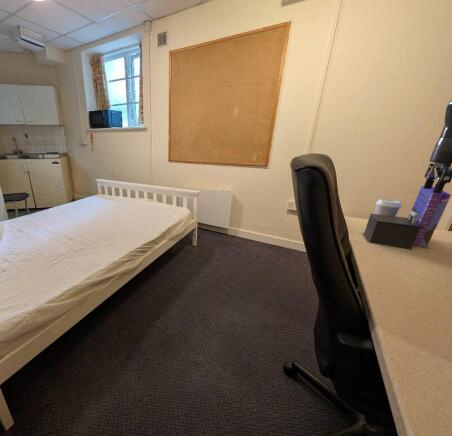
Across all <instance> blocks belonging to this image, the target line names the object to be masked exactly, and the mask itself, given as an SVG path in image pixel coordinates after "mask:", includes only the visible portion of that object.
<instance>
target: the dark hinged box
mask: <svg viewBox="0 0 452 436" xmlns="http://www.w3.org/2000/svg"><path fill="white" fill-rule="evenodd" d="M419 230H420V228H415V227H407V226H400V225H392V224H384V223H377V222H376V221H375V220H374V219H373V217H372V216H371V214H370V215H369V218H368V221H367V223H366V226H365V228H364V231H363V234H364V236H365V238H366V240H367V241H368V242H369V243H372V244H376V245H377V244H378V245H382V246H389V247H394V248H399V249H405V250H412V248H413V246H414V245H413V244H414V241H415V239H416V237H417V235H418V232H419Z"/></svg>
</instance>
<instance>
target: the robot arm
mask: <svg viewBox="0 0 452 436" xmlns="http://www.w3.org/2000/svg"><path fill="white" fill-rule="evenodd" d="M443 123H444V125H443V128H442V129H441V132H440V134H439V137H438V139H437V141H436V143H435V145H434V147H433V150H432V153H431V154H430V157H429V160H428V161H429V164H428V166H427V169H426V171H425V174H424V177H423V178H425V182H424V185H423V186H424V187H423V188H424V189H431V188H432V187H434V189H433V192H434V193H441V192H442V190H443V191H444V188H445V186H446V185H447V184H450V183H451V181H452V98H451V99H450V100H449V102H448V103H447V105H446V108H445V113H444V122H443ZM430 162H431V163H430ZM435 180H436V181H435ZM434 183H435V185H434ZM433 185H434V186H433Z"/></svg>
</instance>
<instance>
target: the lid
mask: <svg viewBox="0 0 452 436" xmlns="http://www.w3.org/2000/svg"><path fill="white" fill-rule="evenodd" d="M408 214H409V215H410V217H409V216H408V217H403V216H397V215H396V216H387V215H378V214H375V213H370V215H371V216H372V217H373V219H374V220H375V221H376V222H377V223H384V224H392V225H400V226H407V227H415V228H424V227H423V226H422V225H421V224H419V223H418V222H417V221H416V219H417V218H419V217H420V215H419V214H417V213H416V212H414V211H411V210H410V211H409V212H408ZM412 217H414V219H412Z"/></svg>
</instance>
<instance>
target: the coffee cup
mask: <svg viewBox="0 0 452 436" xmlns="http://www.w3.org/2000/svg"><path fill="white" fill-rule="evenodd" d="M402 207H403V205H402V202H401V201H399V200H396V199H395V200H394V199H389V198H379V199H378V200H377V201H376V202H375V210H374V214H378V215H387V216H396V217H397V214H398V212H399V210H400V209H401V208H402Z"/></svg>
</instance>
